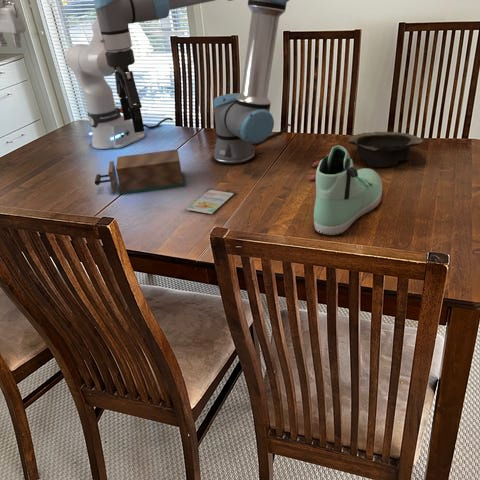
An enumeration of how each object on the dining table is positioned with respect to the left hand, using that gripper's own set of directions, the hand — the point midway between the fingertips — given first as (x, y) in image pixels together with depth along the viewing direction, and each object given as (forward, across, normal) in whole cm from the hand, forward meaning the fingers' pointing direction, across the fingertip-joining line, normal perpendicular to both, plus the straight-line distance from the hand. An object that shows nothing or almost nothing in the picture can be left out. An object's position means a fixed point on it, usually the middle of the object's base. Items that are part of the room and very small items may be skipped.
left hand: (11, 47), depth 159 cm
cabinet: (+44, -46, -13) cm, 65 cm away
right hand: (+20, -53, -4) cm, 57 cm away
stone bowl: (+44, -102, -71) cm, 132 cm away
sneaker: (+44, -110, -32) cm, 123 cm away
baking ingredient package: (+44, -73, -13) cm, 86 cm away
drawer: (+43, -42, -8) cm, 60 cm away
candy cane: (+44, -89, -49) cm, 110 cm away
